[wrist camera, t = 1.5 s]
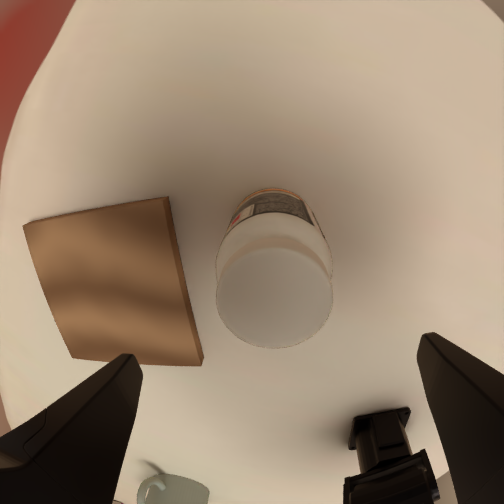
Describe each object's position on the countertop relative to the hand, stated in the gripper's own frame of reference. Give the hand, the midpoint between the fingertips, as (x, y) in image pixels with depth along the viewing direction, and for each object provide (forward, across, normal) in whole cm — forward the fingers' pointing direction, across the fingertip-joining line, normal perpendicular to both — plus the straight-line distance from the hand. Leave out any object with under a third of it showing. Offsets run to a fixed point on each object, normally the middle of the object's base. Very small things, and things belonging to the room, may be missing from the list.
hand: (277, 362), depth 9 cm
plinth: (+14, +14, +5) cm, 20 cm away
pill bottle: (+14, 0, 0) cm, 14 cm away
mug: (+13, +18, +39) cm, 44 cm away
